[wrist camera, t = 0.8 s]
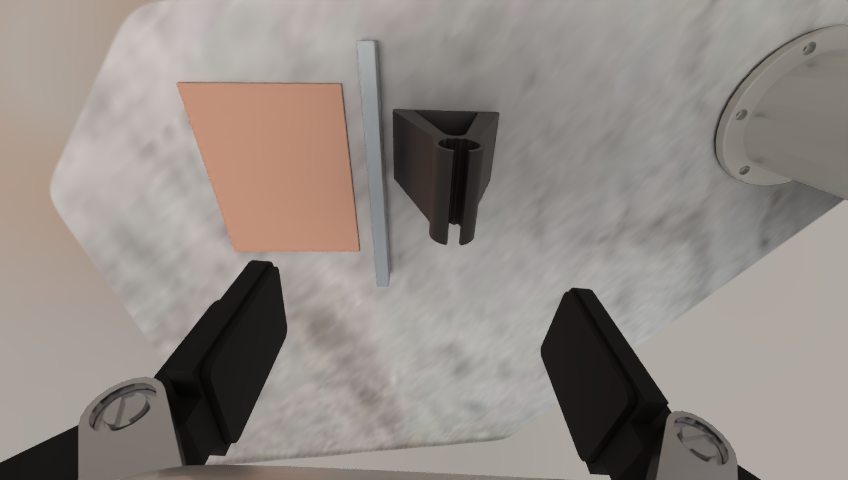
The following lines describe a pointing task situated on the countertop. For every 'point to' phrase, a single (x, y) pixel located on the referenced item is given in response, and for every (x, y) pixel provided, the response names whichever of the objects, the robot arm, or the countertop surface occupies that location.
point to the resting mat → (277, 163)
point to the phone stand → (445, 165)
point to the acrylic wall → (375, 154)
